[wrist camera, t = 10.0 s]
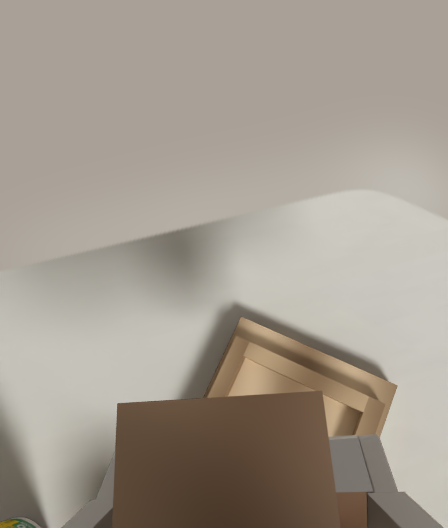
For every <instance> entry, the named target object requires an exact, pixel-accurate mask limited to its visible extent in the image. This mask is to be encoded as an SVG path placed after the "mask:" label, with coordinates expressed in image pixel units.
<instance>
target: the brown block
mask: <svg viewBox="0 0 448 528" xmlns="http://www.w3.org/2000/svg"><path fill="white" fill-rule="evenodd" d="M112 528H341V526H340V518H339V511H338V503H337V496H336V489H335V481H334V474H333V466H332V459H331V452H330V444H329V437H328V429H327V422H326V415H325V407H324V400H323V392H322V391H308V392H292V393H276V394H260V395H244V396H228V397H212V398H196V399H180V400H164V401H148V402H132V403H118V404H117V426H116V448H115V471H114V493H113V515H112Z"/></svg>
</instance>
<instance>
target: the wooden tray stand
mask: <svg viewBox="0 0 448 528" xmlns="http://www.w3.org/2000/svg"><path fill="white" fill-rule="evenodd" d="M396 389H397V385H395V384H393V383H391V382H388V381H386V380H384V379H382V378H379V377H377V376H375V375H372V374H370V373H368V372H366V371H363V370H361V369H359V368H357V367H354V366H352V365H350V364H348V363H345V362H343V361H341V360H338V359H336V358H334V357H332V356H329V355H327V354H325V353H323V352H320V351H318V350H316V349H313V348H311V347H309V346H307V345H304V344H302V343H300V342H298V341H295V340H293V339H291V338H289V337H286V336H284V335H282V334H279V333H277V332H275V331H273V330H270V329H268V328H266V327H264V326H261V325H259V324H257V323H254V322H252V321H250V320H248V319H245V318H243V317H241V318H240V320H239V322H238V324H237V327H236V329H235V331H234V333H233V335H232V337H231V339H230V342H229V344H228V346H227V348H226V350H225V352H224V354H223V356H222V359H221V361H220V363H219V365H218V367H217V369H216V371H215V374H214V376H213V378H212V380H211V382H210V384H209V386H208V388H207V391H206V393H205V395H204V397H203V398H212V397H228V396H244V395H260V394H276V393H292V392H308V391H322V392H323V400H324V407H325V415H326V422H327V429H328V437H334V436H350V435H357V436H358V435H374V434H377V435H378V436H379V437H380V435H381V432H382V429H383V426H384V424H385V421H386V418H387V415H388V412H389V409H390V406H391V403H392V400H393V397H394V394H395V391H396Z"/></svg>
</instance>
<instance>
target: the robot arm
mask: <svg viewBox="0 0 448 528" xmlns="http://www.w3.org/2000/svg"><path fill="white" fill-rule="evenodd" d="M329 444H330V452H331V459H332V466H333V474H334V481H335V489H336V496H337V503H338V511H339V518H340V526H341V528H443V527H442V526H441V525H440V524H439V523H438V522H437V521H436V520H435V519H433V518H432V517H431V516H430V515H429V514H428V513H427V512H426V511H425V510H424V509H423V508H421V507H420V506H419V505H418V504H417V503H416V502H415V501H414V500H413V499H412V498H411V497H410V496H408V495H407V494H406V493H405V492H398V490H397V487H396V484H395V481H394V478H393V475H392V472H391V469H390V467H389V464H388V461H387V458H386V455H385V452H384V449H383V446H382V443H381V440H380V437H379V436H378V435H377V434H374V435H358V436H357V435H350V436H334V437H329ZM114 471H115V452H114V455H113V457H112V460H111V462H110V465H109V467H108V470H107V472H106V475H105V477H104V480H103V482H102V485H101V487H100V490H99V492H98V495H97V497H96V500H90V501H89V502H88V503H87V504H86V505H85V506H84V507H83V508H82V509H81V510H80V511H79V512H77V513H76V514H75V515H74V516H73V517H72V518H71V519H70V520H69V521H68V522H67V523H66V524H65V525H64V526H63V527H62V528H112V515H113V493H114Z"/></svg>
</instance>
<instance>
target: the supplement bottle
mask: <svg viewBox="0 0 448 528" xmlns="http://www.w3.org/2000/svg"><path fill="white" fill-rule="evenodd" d="M0 528H41V527H40V526H39V525H38V524H36V523H35V522H34V521H32V520H30V519H27V518H23V517H16V518H11V519H8V520H5V521H2V522H0Z"/></svg>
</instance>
